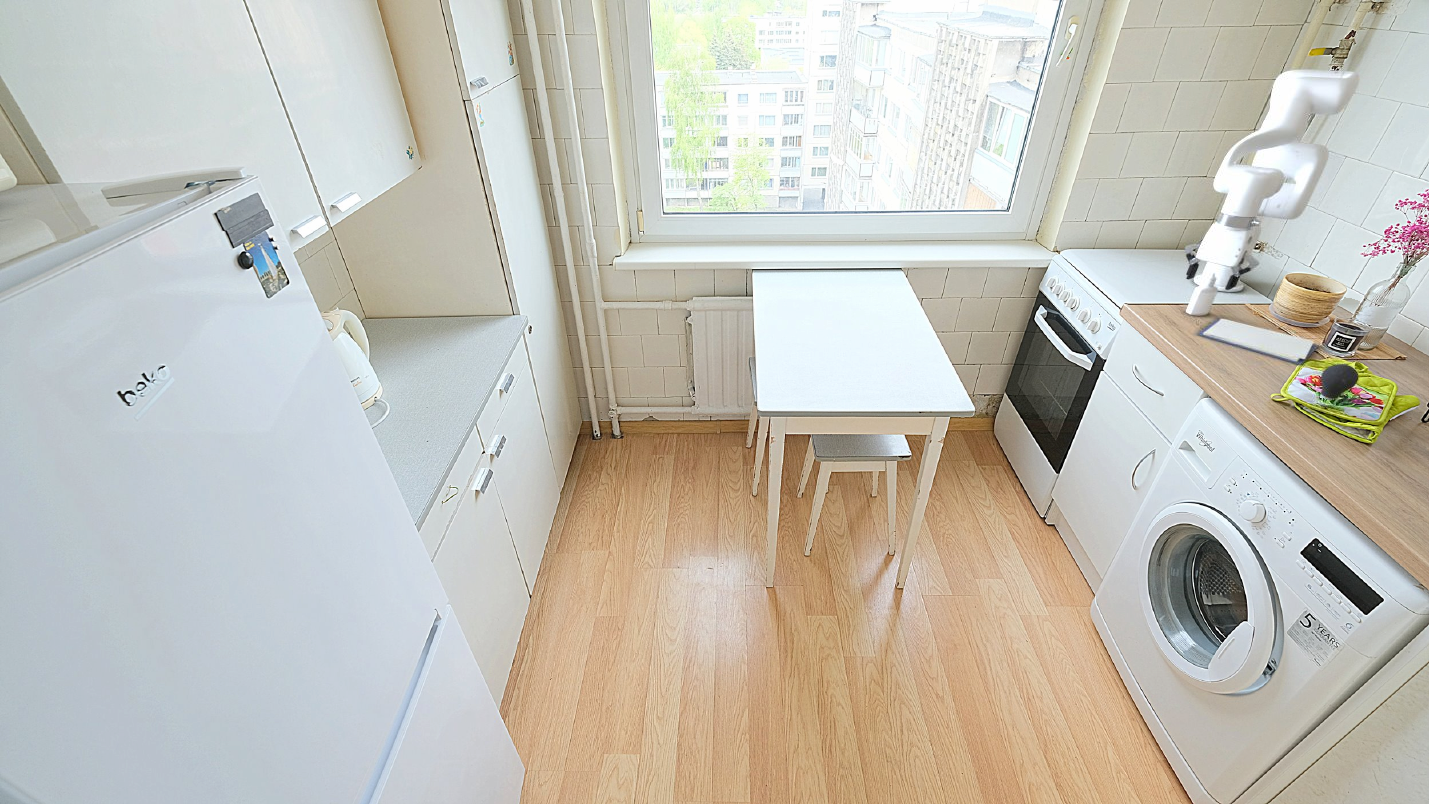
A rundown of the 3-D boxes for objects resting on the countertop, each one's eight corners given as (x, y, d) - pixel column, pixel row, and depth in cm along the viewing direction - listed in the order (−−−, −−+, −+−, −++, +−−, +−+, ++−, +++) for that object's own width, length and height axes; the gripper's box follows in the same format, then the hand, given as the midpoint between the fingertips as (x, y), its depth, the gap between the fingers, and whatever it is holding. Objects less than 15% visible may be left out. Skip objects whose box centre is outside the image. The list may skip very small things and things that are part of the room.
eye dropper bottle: (1210, 317, 177) (1228, 276, 171) (1186, 314, 179) (1203, 274, 173) (1206, 312, 181) (1223, 271, 174) (1183, 309, 182) (1199, 269, 176)
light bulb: (1299, 399, 140) (1322, 359, 135) (1325, 399, 140) (1349, 359, 134) (1319, 413, 135) (1343, 371, 130) (1346, 413, 135) (1371, 372, 130)
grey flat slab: (1218, 319, 176) (1219, 315, 176) (1318, 346, 162) (1320, 342, 161) (1197, 334, 168) (1198, 331, 167) (1300, 365, 153) (1302, 361, 153)
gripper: (1280, 226, 161) (1251, 290, 170) (1205, 212, 174) (1181, 272, 183) (1268, 231, 158) (1238, 296, 167) (1192, 215, 170) (1168, 277, 179)
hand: (1208, 283), depth 175 cm, fingers open, 9 cm apart
